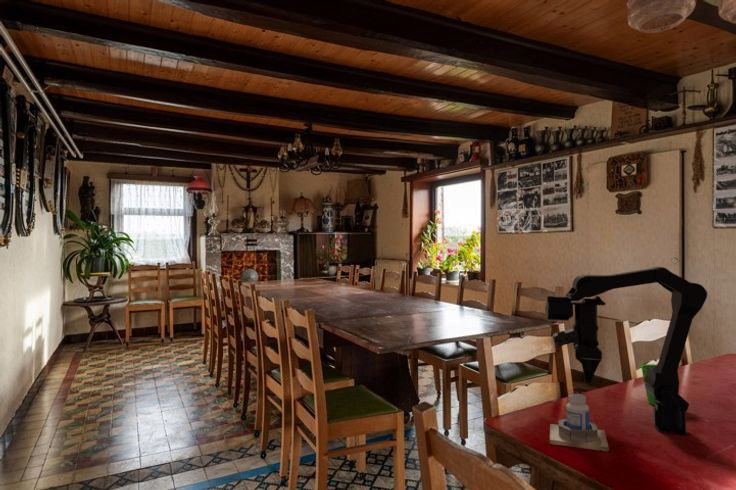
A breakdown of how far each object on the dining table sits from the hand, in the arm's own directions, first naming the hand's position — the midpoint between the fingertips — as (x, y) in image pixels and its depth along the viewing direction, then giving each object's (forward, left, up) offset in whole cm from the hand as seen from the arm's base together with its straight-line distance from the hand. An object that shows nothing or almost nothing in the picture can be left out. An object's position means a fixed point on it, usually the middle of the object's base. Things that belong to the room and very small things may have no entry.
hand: (586, 377), depth 128 cm
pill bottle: (+3, +12, -12) cm, 17 cm away
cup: (-21, -25, -13) cm, 35 cm away
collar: (+3, +12, -12) cm, 18 cm away
